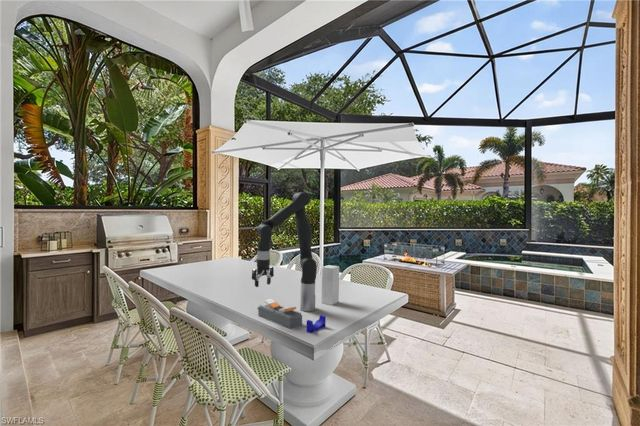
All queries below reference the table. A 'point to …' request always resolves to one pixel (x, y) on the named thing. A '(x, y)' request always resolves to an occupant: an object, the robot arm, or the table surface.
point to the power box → (280, 316)
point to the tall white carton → (330, 284)
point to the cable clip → (316, 324)
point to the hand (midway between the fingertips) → (262, 285)
